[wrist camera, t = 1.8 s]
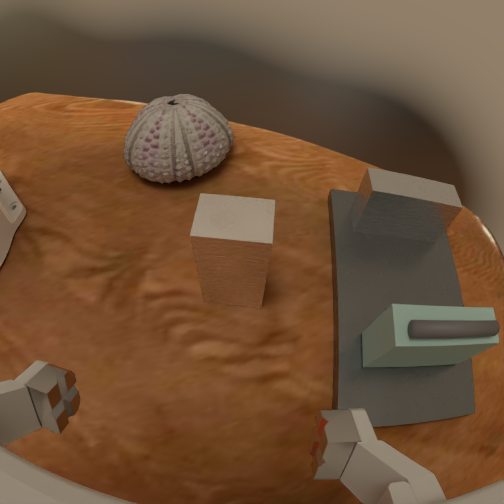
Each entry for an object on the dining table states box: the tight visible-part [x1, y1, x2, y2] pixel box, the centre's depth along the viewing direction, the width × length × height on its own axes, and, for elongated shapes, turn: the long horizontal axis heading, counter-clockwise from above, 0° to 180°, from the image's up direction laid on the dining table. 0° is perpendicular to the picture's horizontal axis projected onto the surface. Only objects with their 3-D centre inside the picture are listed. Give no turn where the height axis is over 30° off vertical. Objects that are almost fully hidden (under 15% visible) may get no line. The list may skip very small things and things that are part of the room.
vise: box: [328, 167, 475, 427], centre depth 25 cm, size 24×14×8 cm, turn 175°
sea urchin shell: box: [123, 94, 234, 184], centre depth 35 cm, size 13×14×8 cm
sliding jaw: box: [362, 304, 499, 367], centre depth 21 cm, size 3×10×7 cm, turn 85°
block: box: [190, 193, 275, 308], centre depth 24 cm, size 4×5×10 cm
